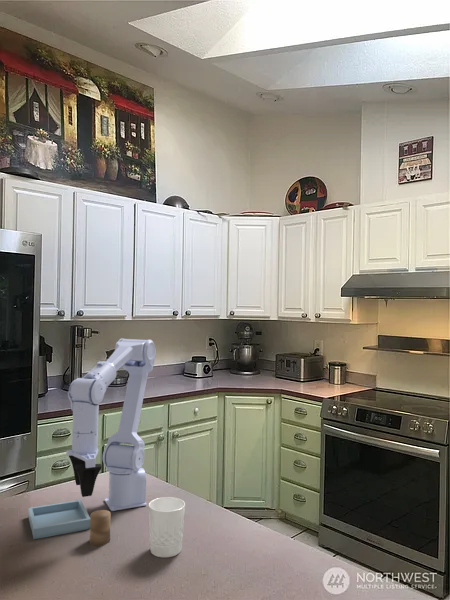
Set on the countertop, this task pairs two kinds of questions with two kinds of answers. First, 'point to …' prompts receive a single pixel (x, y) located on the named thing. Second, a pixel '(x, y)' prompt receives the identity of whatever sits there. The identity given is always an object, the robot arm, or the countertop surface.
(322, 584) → the countertop surface
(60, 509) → the light blue square tray
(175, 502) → the white cup
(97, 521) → the tan rounded cylinder
